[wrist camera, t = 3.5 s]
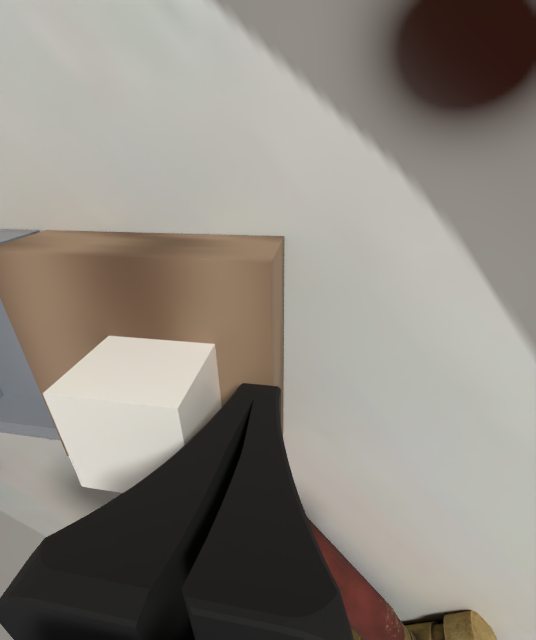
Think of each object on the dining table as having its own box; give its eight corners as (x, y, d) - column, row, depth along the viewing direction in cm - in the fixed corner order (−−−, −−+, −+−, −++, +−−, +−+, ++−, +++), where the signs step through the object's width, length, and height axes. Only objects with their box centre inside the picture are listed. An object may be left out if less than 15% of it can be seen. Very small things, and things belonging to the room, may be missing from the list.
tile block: (131, 418, 14) (81, 486, 11) (108, 335, 12) (42, 393, 9) (224, 429, 13) (195, 504, 11) (215, 343, 12) (177, 408, 9)
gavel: (163, 542, 19) (308, 489, 15) (195, 475, 23) (317, 418, 19) (373, 733, 23) (531, 733, 19) (369, 647, 27) (499, 632, 23)
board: (104, 411, 19) (67, 455, 16) (45, 230, 14) (-20, 250, 11) (283, 432, 17) (274, 485, 15) (284, 236, 12) (271, 261, 10)
